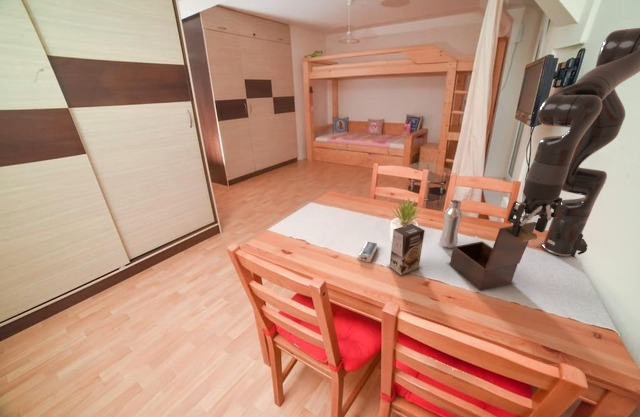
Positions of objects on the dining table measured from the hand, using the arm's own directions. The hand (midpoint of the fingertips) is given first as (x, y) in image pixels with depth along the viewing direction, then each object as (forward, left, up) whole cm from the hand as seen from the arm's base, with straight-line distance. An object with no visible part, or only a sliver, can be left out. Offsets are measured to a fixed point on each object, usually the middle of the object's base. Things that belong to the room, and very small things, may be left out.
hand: (527, 233), depth 74 cm
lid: (+3, -3, -7) cm, 8 cm away
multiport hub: (+47, -1, -23) cm, 52 cm away
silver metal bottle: (+20, -22, -23) cm, 37 cm away
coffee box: (+32, +1, -23) cm, 39 cm away
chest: (+8, -8, -23) cm, 25 cm away
